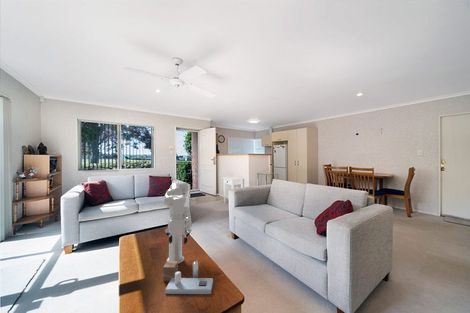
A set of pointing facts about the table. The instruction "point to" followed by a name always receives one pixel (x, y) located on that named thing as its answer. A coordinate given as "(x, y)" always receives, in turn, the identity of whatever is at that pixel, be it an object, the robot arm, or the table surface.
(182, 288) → the board
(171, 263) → the wooden box
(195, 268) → the peg
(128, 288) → the table surface
